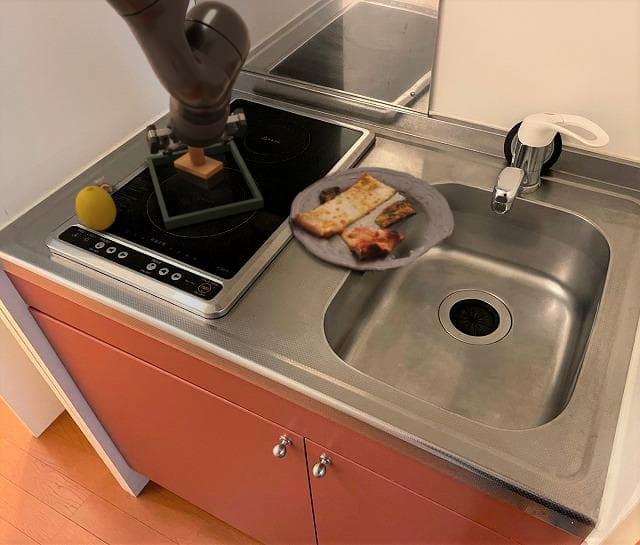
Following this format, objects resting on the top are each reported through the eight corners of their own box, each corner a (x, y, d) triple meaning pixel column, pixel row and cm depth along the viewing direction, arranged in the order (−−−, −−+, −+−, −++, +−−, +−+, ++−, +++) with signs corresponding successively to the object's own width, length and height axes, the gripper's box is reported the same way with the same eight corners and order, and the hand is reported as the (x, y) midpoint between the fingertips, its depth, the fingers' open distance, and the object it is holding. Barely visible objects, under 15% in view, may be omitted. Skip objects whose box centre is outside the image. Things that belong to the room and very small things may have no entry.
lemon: (129, 225, 90) (115, 183, 84) (102, 245, 86) (86, 202, 81) (104, 214, 92) (90, 172, 86) (77, 233, 89) (60, 190, 83)
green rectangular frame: (264, 211, 92) (263, 199, 90) (167, 234, 88) (164, 221, 86) (234, 151, 105) (233, 140, 104) (149, 169, 102) (146, 157, 100)
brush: (177, 179, 98) (163, 118, 90) (194, 167, 101) (182, 107, 93) (209, 192, 95) (198, 130, 87) (225, 180, 98) (216, 118, 90)
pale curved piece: (108, 190, 97) (101, 170, 94) (116, 195, 96) (109, 174, 93) (93, 198, 95) (86, 178, 92) (101, 203, 94) (94, 183, 91)
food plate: (364, 303, 77) (365, 284, 74) (259, 224, 90) (257, 205, 87) (478, 224, 89) (483, 206, 86) (371, 164, 101) (372, 147, 99)
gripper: (245, 73, 76) (233, 114, 92) (136, 92, 72) (143, 131, 88) (259, 128, 76) (245, 159, 92) (151, 149, 72) (156, 178, 88)
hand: (195, 145), depth 90 cm, fingers open, 8 cm apart
